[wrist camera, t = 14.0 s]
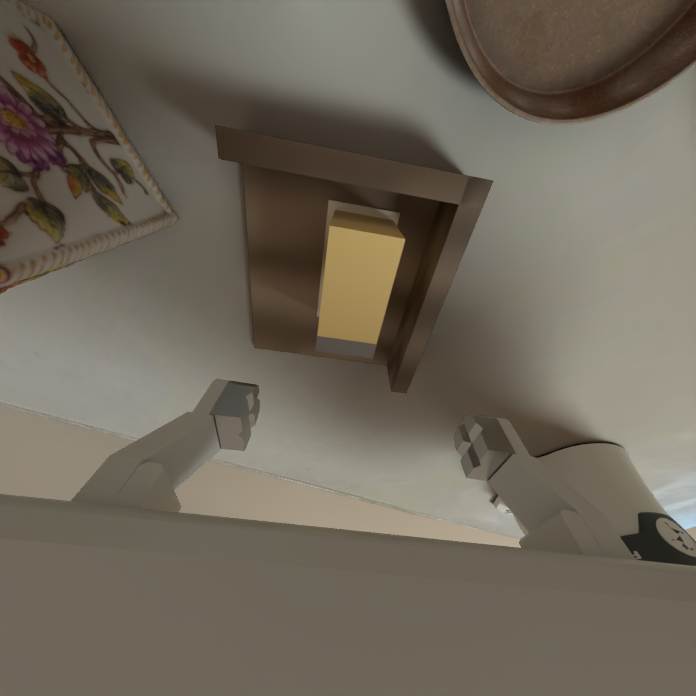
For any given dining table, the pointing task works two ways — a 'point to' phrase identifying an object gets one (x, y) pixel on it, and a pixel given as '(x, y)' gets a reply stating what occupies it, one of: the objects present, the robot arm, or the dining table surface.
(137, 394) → the dining table surface
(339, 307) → the ochre block
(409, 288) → the corner arena
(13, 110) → the decorative jar
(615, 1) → the plant saucer
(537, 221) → the dining table surface
